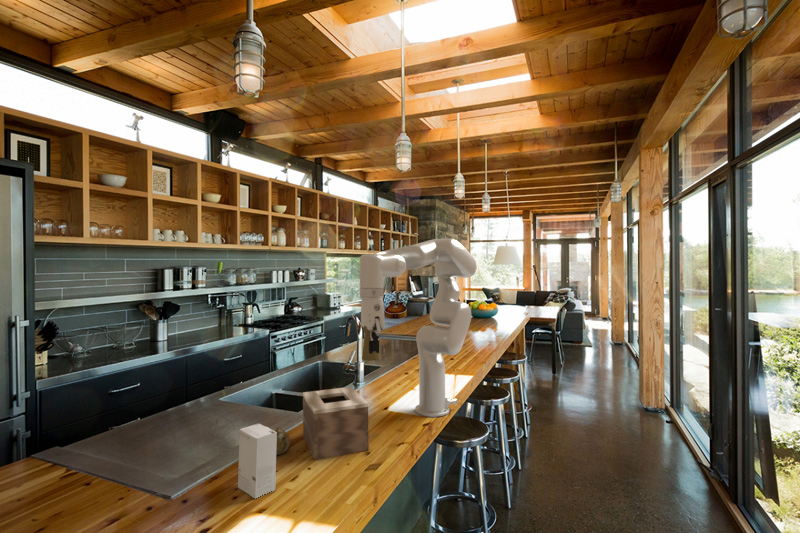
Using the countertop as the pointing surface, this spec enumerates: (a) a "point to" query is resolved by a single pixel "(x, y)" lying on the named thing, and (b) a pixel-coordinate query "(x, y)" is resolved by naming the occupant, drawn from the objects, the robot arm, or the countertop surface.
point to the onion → (281, 441)
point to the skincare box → (257, 460)
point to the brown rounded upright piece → (366, 353)
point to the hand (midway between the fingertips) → (371, 351)
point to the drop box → (335, 422)
